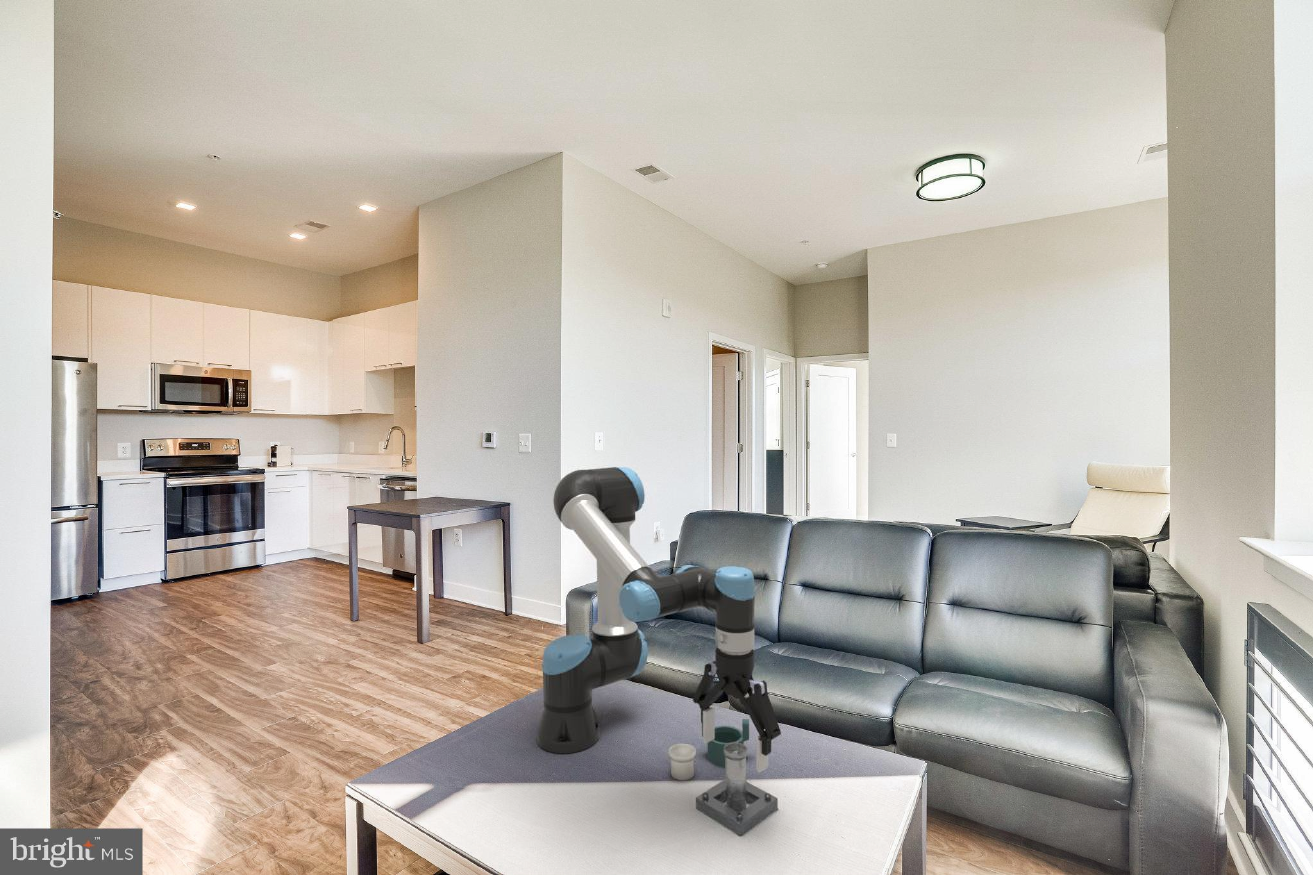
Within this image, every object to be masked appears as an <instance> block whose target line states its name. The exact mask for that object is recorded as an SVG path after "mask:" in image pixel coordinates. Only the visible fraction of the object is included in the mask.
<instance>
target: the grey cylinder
mask: <svg viewBox="0 0 1313 875" xmlns="http://www.w3.org/2000/svg"><path fill="white" fill-rule="evenodd" d="M724 755H725V766H726V767H725V779H726V801H725V805H726V806H728V807H730V808H732V809H733V810H735V811H737V812H738V813H739V812H741V811H742V810H744V809H745V808H746V807H748V806H747V801H746V781H747V757H748V746H746V745H745V744H744V745H743V744H741V743H728V744H726V745H725V746H724Z"/></svg>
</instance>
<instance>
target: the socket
mask: <svg viewBox="0 0 1313 875" xmlns="http://www.w3.org/2000/svg"><path fill="white" fill-rule="evenodd" d="M778 801H779V800H778V797H776V796H774V795H773V794H771V793H769V792H767V791H765V790H763V789H761V788H760V787H758V786H756V785H755V784H752V783H750V782H748V781H747V780H746V803H749V805H748V806H747V807H746V808H745V809H744V810H742V811H741V812H739V813H738V812H737V811H735V810H733V809H732V808H730V807H728V806H726V803H724V802H726V778H725V779H723V780H722V781H720V782H719V783H717V784H715V785H713V786H712V787H711V788H708V789H707V790H706V791H704V792H702V793H701V794H699V795H697V796H695V808H696V810H698V811H700V812H701V813H703V814H704V815H706V816H707V817H709V818H711V819H712V820H714V821H715V822H717V823H719V824H720V825H722V826H723V827H725V828H727V829H728V830H730V831H731V832H733V833H734V834H736V835H738V836H739V837H742V836H743V835H744V834H747V833H748V832H749V831H750V830H752V829H753V828H755V826H757V825H758V824H760V823H761V822H762V821H764V820H765V819H767V817H770V815H772V814H773V813H774V812H776V811H777V810H778V808H779V806H778V805H779V804H778V803H779V802H778Z"/></svg>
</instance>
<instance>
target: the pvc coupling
mask: <svg viewBox="0 0 1313 875" xmlns="http://www.w3.org/2000/svg"><path fill="white" fill-rule="evenodd" d="M696 754H697V752H696V748H695V747H694V746H692V745H691V744H687V743H677V744H673V745H672V746H671V747H669V749H668V756H669V759H670V774H671V778H673V779H675V780H679V781H688V780H690V779H692V778H693V777H694V775H695V759H696V757H697V755H696Z"/></svg>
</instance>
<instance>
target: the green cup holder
mask: <svg viewBox="0 0 1313 875" xmlns="http://www.w3.org/2000/svg"><path fill="white" fill-rule="evenodd" d="M741 720H742V722H741V724H742V730H741V729H739V728H737V727H735V726H732V725H731V726H730V725H719V726H715V739H713V740H712V741H710V742H708V743H707V759H708V761H709V762H710V763H711V764H713V765H715V766H717V767H721V768H726V766H725V755H724V746H725V745H726V744H728V743H741V744H743V745H745V742H747V741H749V740H750V719H749V718H742V719H741ZM701 737H702V738H703V724H702V723H701Z"/></svg>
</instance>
